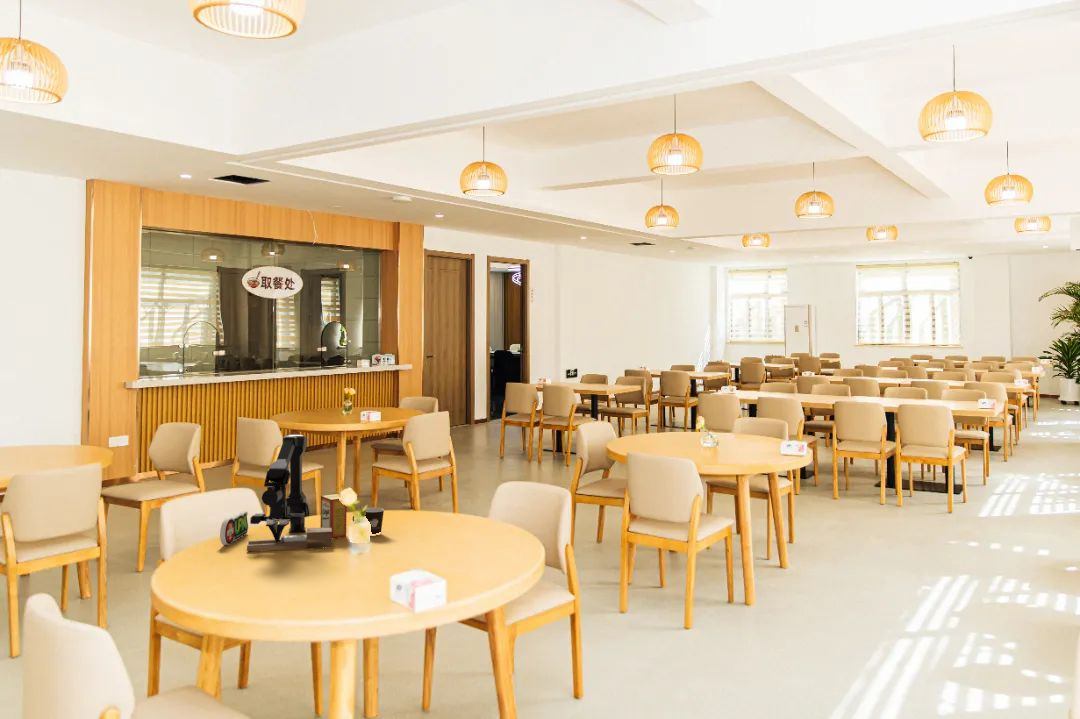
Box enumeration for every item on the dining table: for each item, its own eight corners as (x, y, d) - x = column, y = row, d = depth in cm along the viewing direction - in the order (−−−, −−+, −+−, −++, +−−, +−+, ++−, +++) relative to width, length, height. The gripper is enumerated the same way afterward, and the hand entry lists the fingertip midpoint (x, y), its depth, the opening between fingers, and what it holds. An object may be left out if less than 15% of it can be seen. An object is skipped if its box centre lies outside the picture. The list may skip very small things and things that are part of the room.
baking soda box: (346, 536, 310) (346, 496, 310) (330, 539, 306) (331, 498, 306) (335, 532, 318) (336, 493, 317) (320, 534, 313) (320, 494, 313)
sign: (243, 533, 313) (243, 509, 313) (248, 533, 313) (248, 509, 313) (219, 548, 291) (220, 521, 291) (224, 548, 291) (224, 521, 291)
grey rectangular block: (281, 546, 294) (281, 535, 294) (306, 544, 297) (306, 534, 296) (280, 548, 290) (280, 538, 290) (306, 547, 293) (306, 536, 293)
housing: (248, 547, 292) (248, 531, 292) (331, 542, 301) (331, 527, 301) (246, 552, 285) (247, 535, 285) (331, 547, 294) (331, 531, 294)
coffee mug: (386, 532, 319) (386, 508, 318) (379, 537, 310) (380, 512, 310) (358, 531, 320) (358, 507, 320) (351, 536, 311) (351, 511, 311)
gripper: (308, 496, 300) (308, 537, 300) (259, 496, 299) (259, 536, 299) (300, 502, 289) (300, 544, 289) (250, 501, 288) (249, 543, 288)
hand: (277, 541), depth 292 cm, fingers closed
